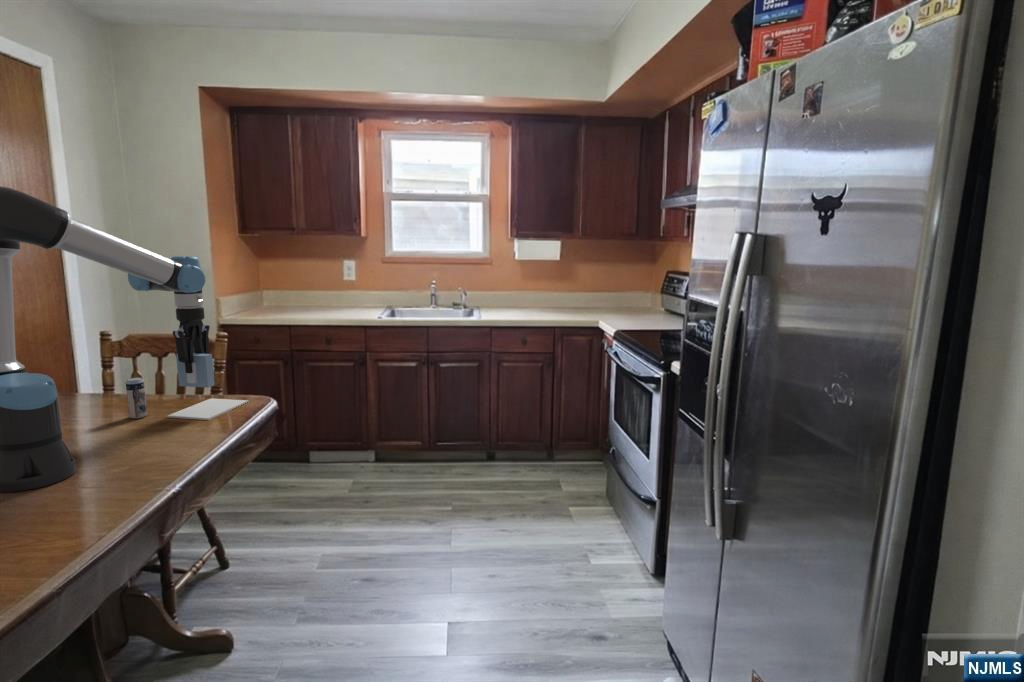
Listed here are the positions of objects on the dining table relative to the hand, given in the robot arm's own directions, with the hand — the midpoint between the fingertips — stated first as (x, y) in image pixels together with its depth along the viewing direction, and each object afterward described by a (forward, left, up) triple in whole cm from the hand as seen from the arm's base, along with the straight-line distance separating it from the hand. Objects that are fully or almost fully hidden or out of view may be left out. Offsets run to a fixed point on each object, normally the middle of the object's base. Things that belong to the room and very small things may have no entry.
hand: (196, 381), depth 173 cm
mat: (+4, -1, -10) cm, 11 cm away
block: (0, 0, -1) cm, 1 cm away
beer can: (-7, +15, -11) cm, 20 cm away
